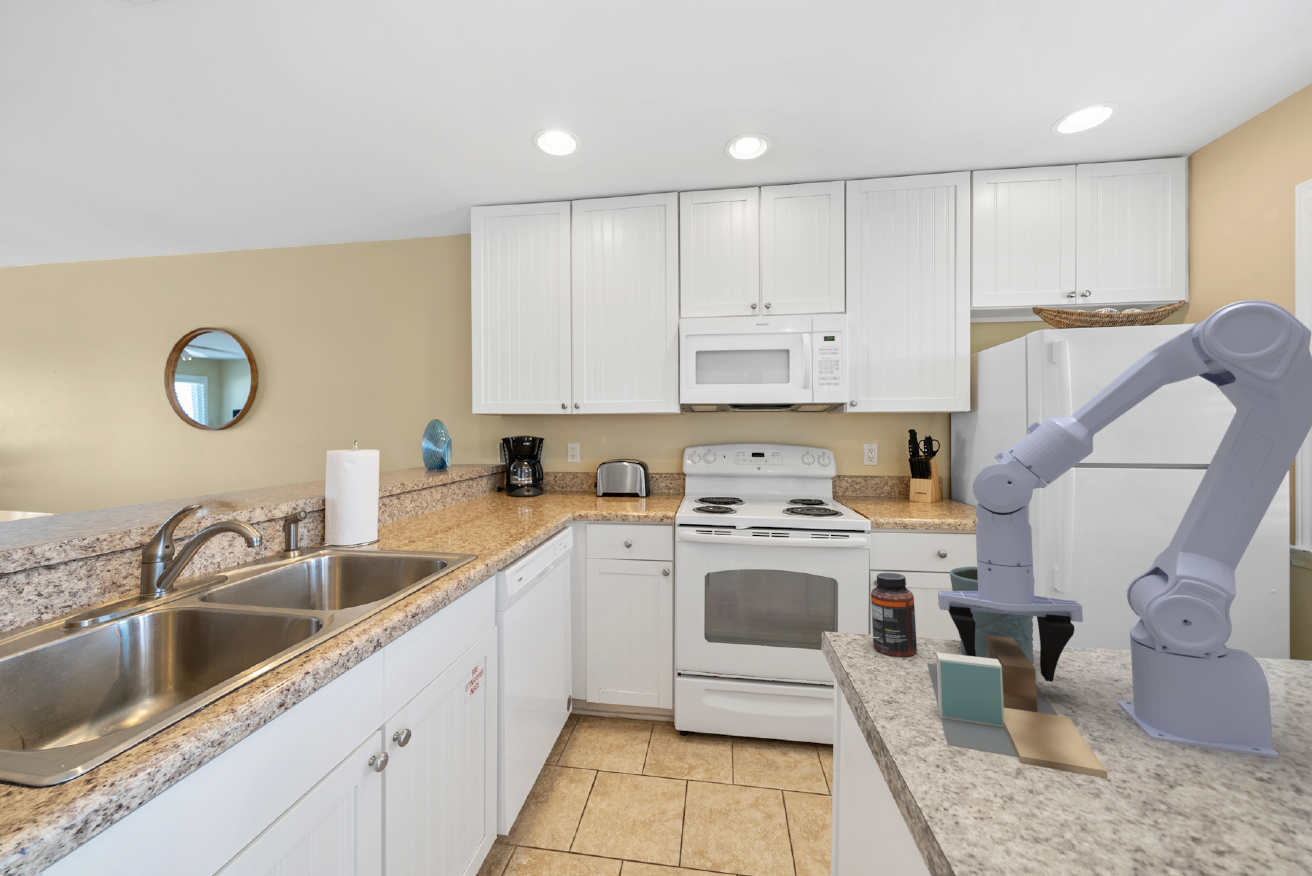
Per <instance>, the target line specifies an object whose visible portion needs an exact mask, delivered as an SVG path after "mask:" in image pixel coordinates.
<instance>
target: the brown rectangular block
mask: <svg viewBox="0 0 1312 876" xmlns="http://www.w3.org/2000/svg"><path fill="white" fill-rule="evenodd" d="M986 648H987V658H992V659H998V661H999V662H1000V664H1001V666H1002V682H1003V703H1004V707H1005V708H1010V709H1017V710H1024V711H1031V712H1037V693H1036V684H1037V675H1036V674H1037V673H1036V668H1035V666H1034V665H1033V664H1031V662H1030V661H1029V659H1028V658H1027V657H1026V655H1025V654H1024V653H1023V651H1022V650H1021V648H1020V647H1019V646H1018V644H1017V643H1016V642H1015V640H1014V639H1013V638H1008V637H998V636H988V635H986Z"/></svg>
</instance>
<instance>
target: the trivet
mask: <svg viewBox="0 0 1312 876" xmlns="http://www.w3.org/2000/svg"><path fill="white" fill-rule="evenodd" d="M1004 724H1005V730H1006V732H1007V734H1008V736H1009V738H1010V740H1011V742H1012V745H1013V747H1014V749H1015V751H1016V753H1017V755H1018V757H1017V758H1018V760H1019V763H1021V764H1025V765H1031V766H1035V767H1040V768H1048V769H1054V770H1058V771H1063V772H1064V771H1065V772H1070V773H1076V774H1081V775H1088V776H1093V777H1097V778H1103V779H1107V778H1108V770H1107V769H1106V767H1105V766H1104V765H1103V763H1102V762H1101V761H1100V759H1099V758H1098V757H1097V755H1096V754H1095V752H1094V751H1093V749H1092V748H1091V747H1090V745H1089V744H1088V743H1087V742H1086V740H1085V739H1084V737H1083V735H1082V734H1081V733H1080V732H1079V730H1078V729H1077V728H1076V726H1075V724H1074V723H1073V721H1072V720H1071V719H1070V718H1069V716H1065V715H1059V714H1058V715H1052V714H1045V713H1038V712H1031V711H1024V710H1017V709H1010V708H1004Z"/></svg>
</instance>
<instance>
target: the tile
mask: <svg viewBox="0 0 1312 876" xmlns="http://www.w3.org/2000/svg"><path fill="white" fill-rule="evenodd" d="M935 656H936V664H937V680H938V703H939V709H938V712H940V713H939V716H941V717H940V719H941V718H945V719H952V720H958V721H965V722H971V723H977V724H984V725H990V726H997V727H1003V728H1005V724H1004V703H1003V682H1002V666H1001V664H1000V662H999V661H998V659H992V658H983V657H974V656H965V655H964V654H956V653H955V654H954V653H945V652H936V655H935Z"/></svg>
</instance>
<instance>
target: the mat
mask: <svg viewBox="0 0 1312 876" xmlns="http://www.w3.org/2000/svg"><path fill="white" fill-rule="evenodd" d="M926 665H927V668H928V671H929V675H930V680H931V683H932V687H933V693H934V696H935V700H936V704H937V708H938V710H939V703H938V680H937V663H927V664H926ZM1036 693H1037V712H1038V713H1045V714H1052V715H1059V714H1058V712H1057V711H1056V710H1055V708H1054V707H1053V705H1052V704H1051V703H1050V701H1049V700H1048V699H1047V697H1046V695H1045V694H1044V693H1043V691H1042V689H1041V688H1040V687H1039V685H1038V684H1037V683H1036ZM1004 708H1005V707H1004ZM938 712H939V711H938ZM939 714H940V712H939ZM939 716H940V715H939ZM940 720H941V725H942V729H943V733H944V736H945V740H946V745H947V746H952V747H957V748H964V749H970V750H974V751H975V750H976V751H981V752H986V753H993V754H999V755H1003V756H1010V757H1016V758H1018V755H1017V753H1016V751H1015V749H1014V747H1013V745H1012V742H1011V740H1010V738H1009V736H1008V734H1007V732H1006V730H1005V728H1003V727H997V726H990V725H984V724H977V723H971V722H965V721H958V720H952V719H945V718H941V716H940Z"/></svg>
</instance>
